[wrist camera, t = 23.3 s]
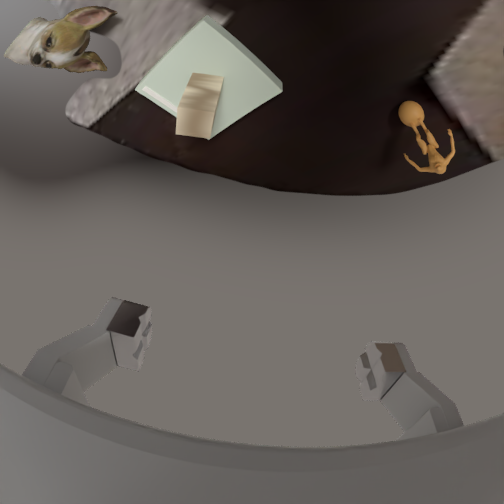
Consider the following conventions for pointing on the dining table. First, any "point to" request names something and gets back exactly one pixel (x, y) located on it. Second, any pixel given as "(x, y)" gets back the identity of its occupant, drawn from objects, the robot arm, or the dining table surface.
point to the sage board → (211, 73)
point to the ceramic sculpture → (60, 41)
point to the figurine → (414, 117)
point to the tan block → (199, 105)
